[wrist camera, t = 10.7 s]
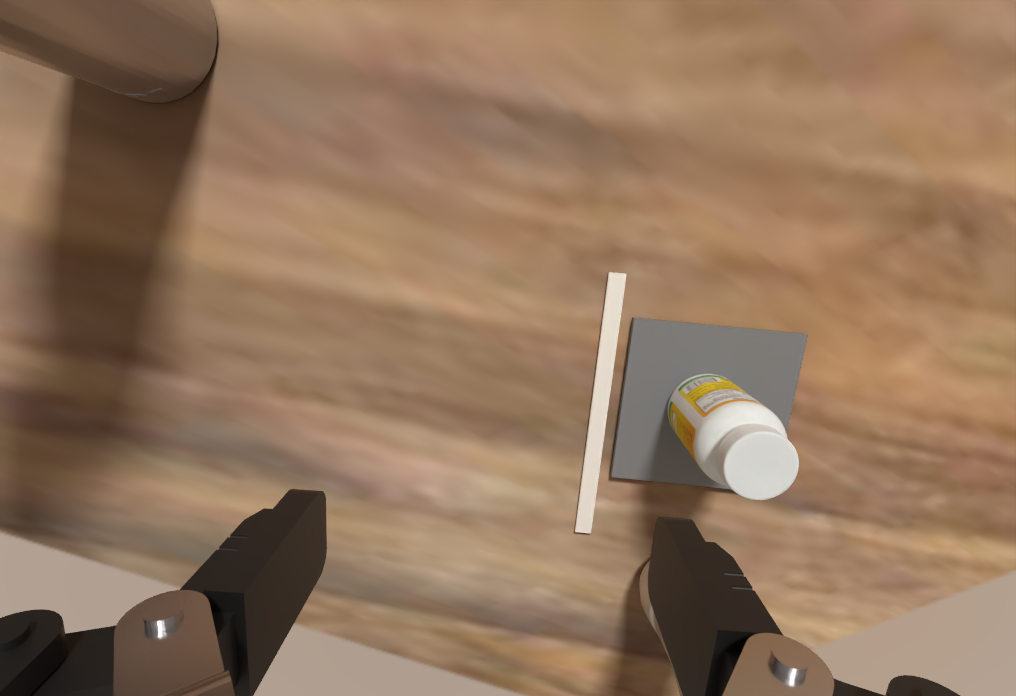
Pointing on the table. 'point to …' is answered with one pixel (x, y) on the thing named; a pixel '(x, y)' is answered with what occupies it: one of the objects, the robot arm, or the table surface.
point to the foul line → (600, 400)
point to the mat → (678, 356)
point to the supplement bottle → (733, 437)
